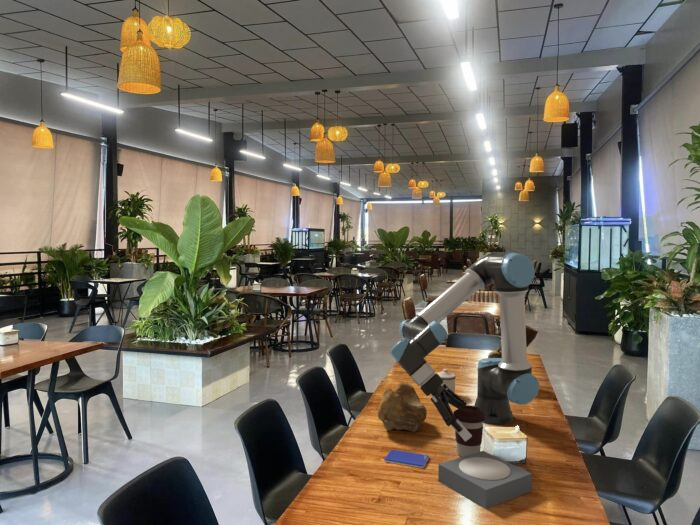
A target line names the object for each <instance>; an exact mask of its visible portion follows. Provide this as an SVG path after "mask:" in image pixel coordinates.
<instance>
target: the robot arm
mask: <svg viewBox="0 0 700 525" xmlns="http://www.w3.org/2000/svg"><path fill="white" fill-rule="evenodd" d="M535 272H536V270H535V265H534V263H533V262H532V260H531V259H530V258H529V257H528V256H527V255H525V254H523V253H517V252H506V251H505V252H501V251H494V252H493V251H492V252H490V253H489V252H488V253H487V254H485V255H483V256H482V257H480V258H479V259H477V260H476V261H475V262H474V263H472V264H471V265H470V266H469V267H467V269H465V271H464V275H462V276H461V277H460V278H459V279H457V281H455V282H454V283H453V284H452V285H450V286H449V287H448V288H447V289H446V290H444V291H443V292H442V293H441V294H440V295H438V297H436V298H435V299H434V300H433V301H432V302H431V303H429V304H428V305H427V306H425V308H424V309H422V310H420V312H419V313H417V314H416V315H415V316H414V317H413V318H410V319H404V320H402V321H401V323H399V327H398V333H399V335H400V337H401V340H399V341H397V342H396V344H395V345H394V346H392V348H391V349H390V354H391V356H392V357H393V358H394V360H395V361H396V363H398V365H399V366H400V367H401V368H402V369H403V371H405V373H406V374H407V375H408V376H409V377H410V378H411V382H413V383H415V384H416V385H417V386H418V387H419V386H420V390H421V391H422V393H423V394H424V395H425V396H426V397H427V396H430V395H432V397H431V398H430V401H431V402H432V404H433V405H434V407H435V408H436V410H437V411H438V413H439V414H440V416H441V418H442V420H443V421H444V423H445V425H446V426H447V427H450V426H451V427H452V428H453V429H454V430H456V431H457V433H458V434H459V435H460V436H461V437H462V438H463V440H464V441H465V442H466V441H467V440H468V439H469V438H471V437H472V435H471V434H470V433H469V432H468V430H467V429H466V428H465V427H464V426H463V425H462V423H461V422H460V421H459V420H458V419H457V420H456V418H455V416H454V414H453V413H454V411H453V410H452V408H451V406H453V407H455V408H456V410H458V408H459V407H460V406H465V405H468V402H466V401H465V400H464V399H463V398H461V397H460V396H459V395H457V393H456V392H455V393H454V392H453V391H452V390H450V389H449V388H448V387H447V386H446V385H445V384H444V385H443V386H441V384H442V383H443V379H442V378H441V377H440V376H439V375H438V374H436V372H435V368H433V367H432V366H431V365H430V364H429V362H428V361H427V360H426V358H427V356H428V355H429V354H430V353H432V352H433V351H434V350H435V349H437V348H438V347H439V346H440V345H442V344H443V342H444V341H445V340H447V338H448V332H447V330H446V328H445V327H444V325H443V324H441V322H442V321H443V320H444V319H445V318H448V316H449V315H450V314H452V313H453V312H454V311H455V310H456V309H457V308H458V307H460V306H461V305H462V304H463V303H464V302H465V301H467V300H468V299H469V298H470V297H471V296H473V295H474V294H475V293H476V292H478V290H484V289H485V288H486V287H488V286H490V285H492V284H493V285H494V292H495V293H496V294H497V295H498V296H499V297H498V298H499V319H500V338H501V339H500V340H501V345H502V350H501V352H502V358H488V357H485V358H481V359H479V360H478V363H477V368H476V369H477V387H476V388H477V394H476V395H477V396H476V400H475V402H474V405H473V406H475V407H478V408H479V409H480V411H481V412H483V413H484V414H485V420H484V421H483V423H486V424H491V425H492V424H493V425H494V424H495V425H501V424H509V423H511V422H512V421H513V411H512V409H511V405H510V402H511V403H513V404H517V405H519V406H524V405H528V404H529V403H531V402H532V401H533V400H534V399H535V398H536V397H537V396H538V393H539V391H540V382H539V379H538V378H537V377H536V376H535V375H534V374H533V371H532V370H533V368H532V364H531V362H529V361H528V355H527V352H528V351H527V350H528V349H527V347H526V326H527V325H526V306H525V302H526V301H525V295H526V294H527V292H528V291H529V286H530V285H531V284H532V282H533V280H534V278H535ZM525 325H526V326H525ZM450 405H451V406H450Z"/></svg>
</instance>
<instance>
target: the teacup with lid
mask: <svg viewBox="0 0 700 525" xmlns="http://www.w3.org/2000/svg"><path fill="white" fill-rule="evenodd" d="M435 374H438V375H439V376H440V377H441V378H442V379H443V383H442V384H441V386H443V385H444V384H445V385H446V386H447V387H448V388H449V389H450V390H452V391H453V392H454V393H455V394H456V377H457V376H456V375H455V374H454V373H452V372H451V371H449V370H448V369H447V368H443V369H442V370H441V371H440V372H437V373H436V372H435Z"/></svg>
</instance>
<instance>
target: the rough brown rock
mask: <svg viewBox="0 0 700 525" xmlns="http://www.w3.org/2000/svg"><path fill="white" fill-rule="evenodd" d="M427 415H428V413H427V408H426V406H425V405H424V404H423V403H422V402H421V401H420V398H419V395H418V394H417V391H416V390H415V387H414V386H413V385H411V384H410V383H408V382H405V381H401V382H399V383H398V384H397V386H396V387H395V389H394V390H393V389H392V388H390V387H385V388H384V390H383V392H382V395H381V399H380V402H379V405H378V408H377V417H378V420H380V421H381V422H382V425H383V427H384V429H385V430H386V431H393V430H394V429H395V430H397V431H398V430H399V431H400V430H407V431H409V432H412V433H417V431H419V429H420V428H421V426H422V425H423V424H424V422H425V421H426V419H427Z"/></svg>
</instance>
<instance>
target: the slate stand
mask: <svg viewBox="0 0 700 525" xmlns="http://www.w3.org/2000/svg"><path fill="white" fill-rule="evenodd" d="M437 470H438V475H437V476H438V478H437V479H438V480H437V481H438V482H439V483H441V484H442V485H444V486H446V487H448V488H449V489H451V490H453V491H454V492H456V493H458V494H459V493H460V495H461V496H463V497H464V496H465V497H464V498H466V499H468V500H470V501H471V502H473V503H474V504H476V505H477V506H479V507H482V508H483V509H490V508H491V507H494V506H496V505H499V504H503V503H505V502H507V501H509V500H512V499H514V498H517V497H520V496H523V495H526V494H528V493H530V492H532V485H533V484H532V483H533V482H532V480H533V473H531V472H529V471H527V470H526V469H523V468H521V467H519V466H516V465H514V464H513V463H510V462H507V461H506V460H504V459H502V458H500V457H498V456H495V455H493V454H492V453H489V452H487V451H484V450H480V452H477V453H474V454H470V455H467V456H464V457H462V456H460V457H457V458H454V459H451V460H447V461H444V462H441V463H438V469H437Z"/></svg>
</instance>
